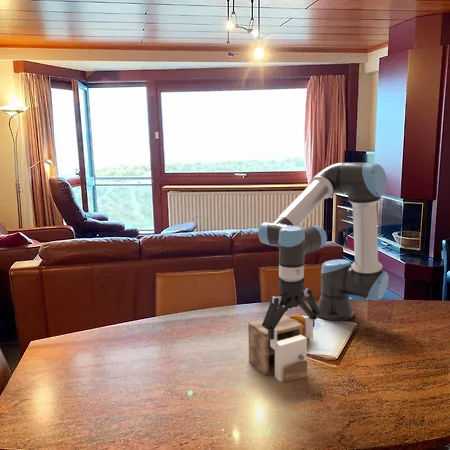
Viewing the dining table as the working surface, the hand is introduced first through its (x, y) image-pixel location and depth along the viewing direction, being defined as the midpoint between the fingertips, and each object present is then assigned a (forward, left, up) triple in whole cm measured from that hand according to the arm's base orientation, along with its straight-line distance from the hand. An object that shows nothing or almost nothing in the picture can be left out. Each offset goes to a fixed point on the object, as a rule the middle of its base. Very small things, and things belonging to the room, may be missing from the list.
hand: (291, 342), depth 138 cm
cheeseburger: (-20, +17, -11) cm, 29 cm away
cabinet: (-5, 0, -11) cm, 12 cm away
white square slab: (0, 0, -11) cm, 11 cm away
